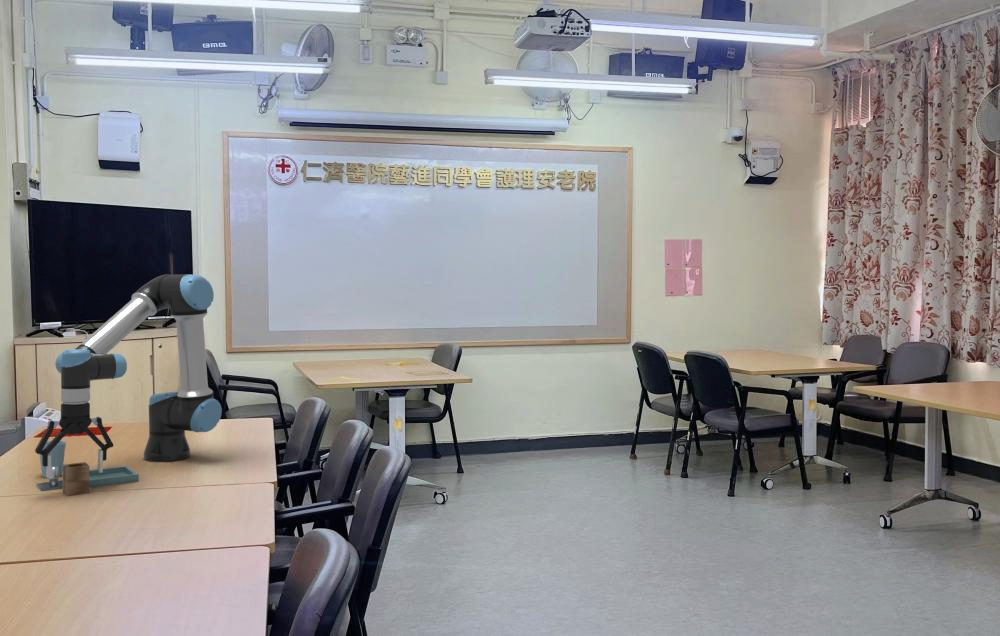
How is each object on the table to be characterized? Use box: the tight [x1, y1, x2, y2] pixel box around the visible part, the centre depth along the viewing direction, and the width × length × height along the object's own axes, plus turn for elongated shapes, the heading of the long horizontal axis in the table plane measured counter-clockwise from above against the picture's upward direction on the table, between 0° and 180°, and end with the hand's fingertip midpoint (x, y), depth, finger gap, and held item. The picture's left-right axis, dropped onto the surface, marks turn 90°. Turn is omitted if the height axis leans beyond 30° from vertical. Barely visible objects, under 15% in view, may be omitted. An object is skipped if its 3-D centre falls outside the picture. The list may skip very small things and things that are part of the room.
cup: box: [39, 440, 67, 478], centre depth 254 cm, size 8×8×10 cm
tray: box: [89, 465, 140, 489], centre depth 250 cm, size 14×14×2 cm
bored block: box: [62, 461, 91, 497], centre depth 235 cm, size 6×6×8 cm
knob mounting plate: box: [36, 466, 63, 492], centre depth 242 cm, size 8×8×6 cm
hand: (74, 474), depth 235 cm, fingers open, 13 cm apart
